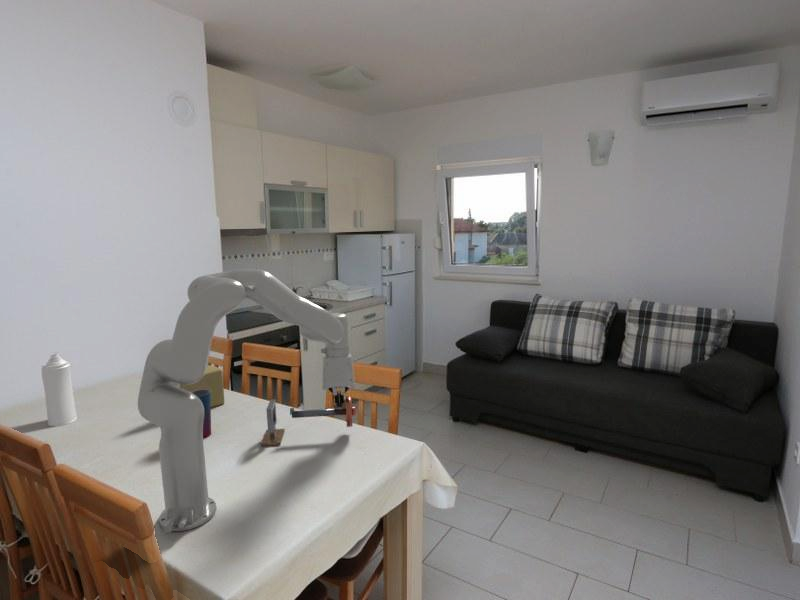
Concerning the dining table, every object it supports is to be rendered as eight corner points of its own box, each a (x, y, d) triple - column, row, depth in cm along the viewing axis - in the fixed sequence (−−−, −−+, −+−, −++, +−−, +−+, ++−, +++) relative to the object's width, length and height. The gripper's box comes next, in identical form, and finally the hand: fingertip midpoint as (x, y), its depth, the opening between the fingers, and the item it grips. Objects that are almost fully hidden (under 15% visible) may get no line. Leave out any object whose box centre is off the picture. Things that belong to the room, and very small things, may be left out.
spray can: (36, 423, 168) (26, 356, 164) (65, 412, 178) (56, 348, 174) (59, 427, 164) (49, 359, 160) (88, 415, 174) (79, 350, 170)
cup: (206, 440, 152) (202, 397, 150) (187, 439, 154) (183, 395, 151) (218, 431, 159) (214, 389, 156) (200, 430, 160) (196, 388, 158)
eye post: (280, 445, 148) (278, 409, 146) (261, 446, 148) (258, 410, 146) (284, 431, 158) (282, 397, 156) (266, 432, 157) (264, 398, 155)
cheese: (171, 424, 166) (167, 384, 163) (157, 418, 171) (153, 379, 169) (226, 404, 183) (223, 367, 181) (211, 399, 189) (208, 363, 186)
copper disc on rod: (356, 431, 150) (355, 402, 148) (289, 435, 148) (287, 406, 146) (355, 418, 160) (354, 391, 158) (293, 422, 158) (291, 394, 156)
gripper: (313, 356, 146) (315, 411, 149) (360, 353, 147) (362, 408, 150) (314, 349, 153) (317, 402, 156) (360, 347, 155) (362, 399, 158)
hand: (339, 405), depth 153 cm, fingers closed
